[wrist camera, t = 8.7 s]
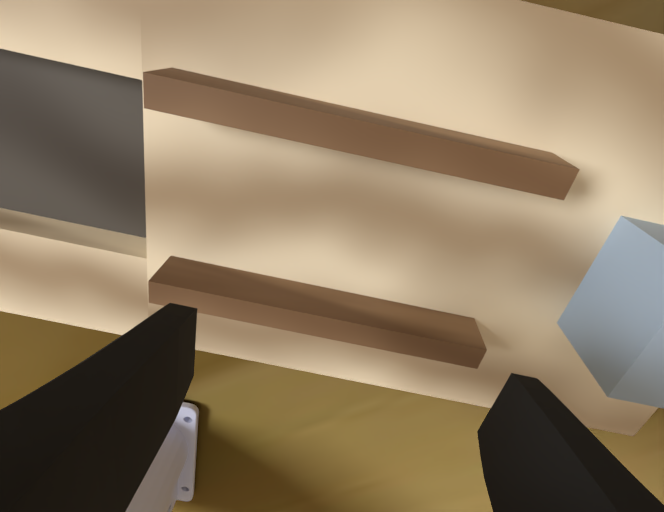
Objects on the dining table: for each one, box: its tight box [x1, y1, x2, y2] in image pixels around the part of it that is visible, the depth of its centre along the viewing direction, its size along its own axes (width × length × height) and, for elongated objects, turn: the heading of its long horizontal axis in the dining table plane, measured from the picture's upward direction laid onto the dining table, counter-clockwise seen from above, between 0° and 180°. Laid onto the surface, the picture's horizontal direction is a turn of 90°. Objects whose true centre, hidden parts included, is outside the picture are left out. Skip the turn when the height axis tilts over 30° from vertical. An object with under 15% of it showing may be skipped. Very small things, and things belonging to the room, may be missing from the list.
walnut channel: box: [143, 67, 580, 369], centre depth 15 cm, size 8×13×2 cm, turn 79°
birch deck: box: [0, 0, 664, 436], centre depth 16 cm, size 16×36×2 cm, turn 79°
